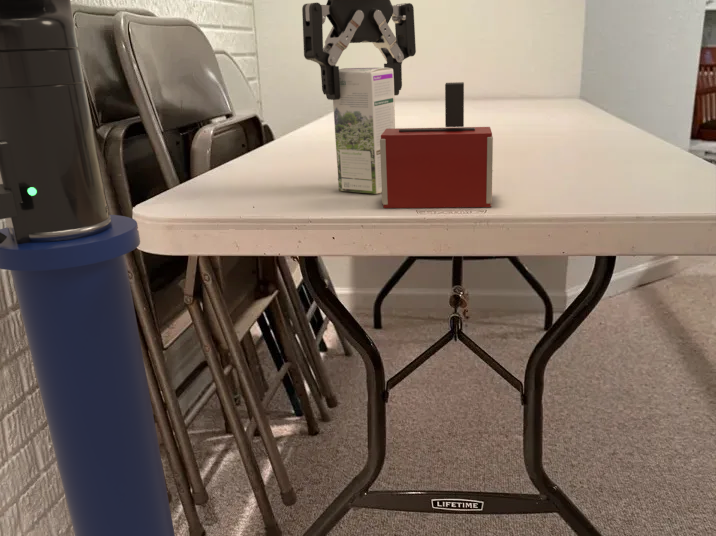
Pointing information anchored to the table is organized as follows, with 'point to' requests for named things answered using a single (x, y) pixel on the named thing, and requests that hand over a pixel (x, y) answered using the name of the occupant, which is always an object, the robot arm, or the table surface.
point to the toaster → (436, 167)
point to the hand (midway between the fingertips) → (363, 97)
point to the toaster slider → (454, 104)
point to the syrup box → (362, 126)
